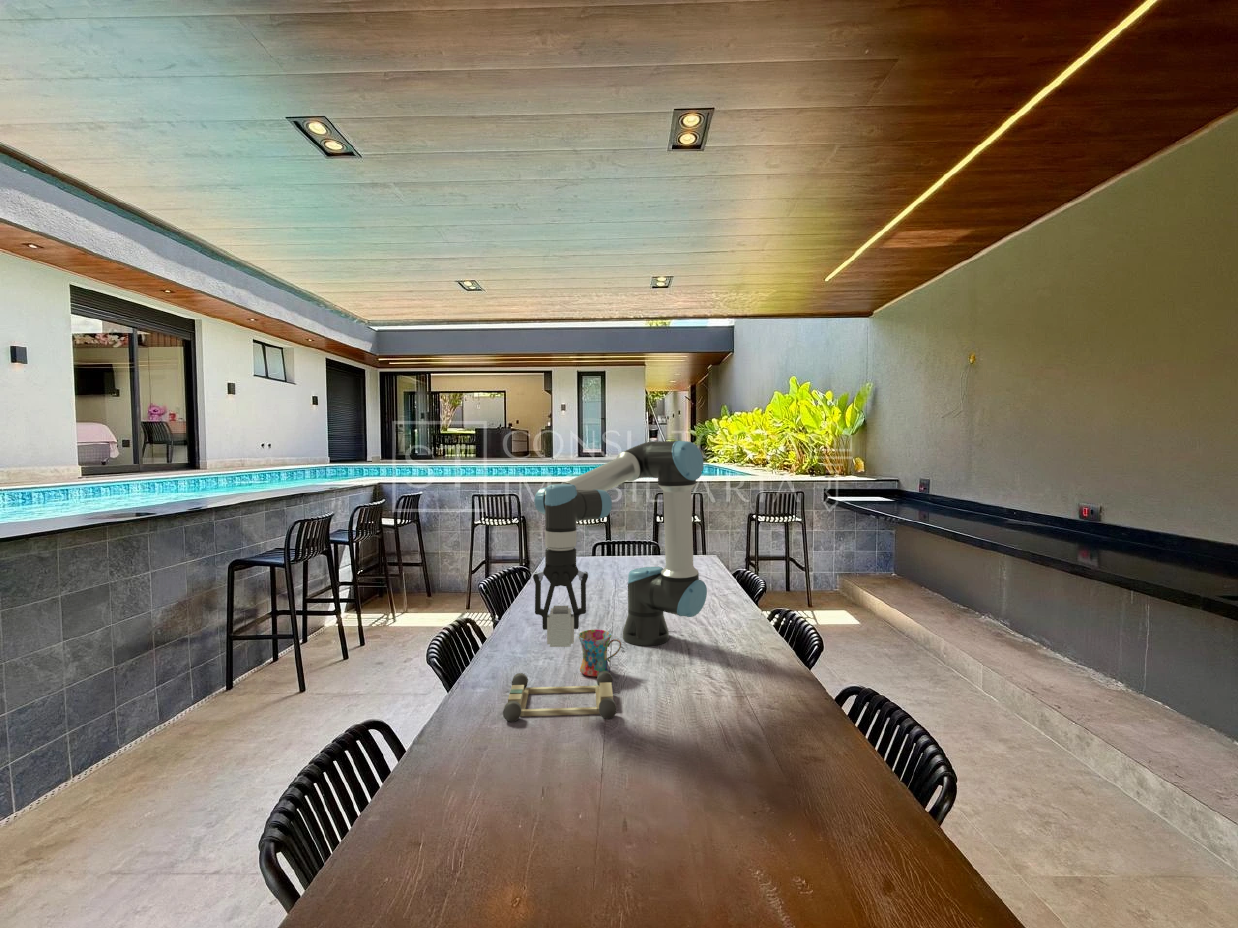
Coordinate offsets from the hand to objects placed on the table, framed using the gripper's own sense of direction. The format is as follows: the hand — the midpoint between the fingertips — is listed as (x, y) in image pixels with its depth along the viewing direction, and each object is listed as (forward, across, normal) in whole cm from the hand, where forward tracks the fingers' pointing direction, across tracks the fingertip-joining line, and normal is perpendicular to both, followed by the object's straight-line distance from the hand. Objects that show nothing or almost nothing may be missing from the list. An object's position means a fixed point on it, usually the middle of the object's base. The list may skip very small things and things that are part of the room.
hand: (560, 641), depth 138 cm
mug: (+15, -10, -18) cm, 26 cm away
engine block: (0, 0, 0) cm, 0 cm away
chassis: (+15, 0, 0) cm, 15 cm away
